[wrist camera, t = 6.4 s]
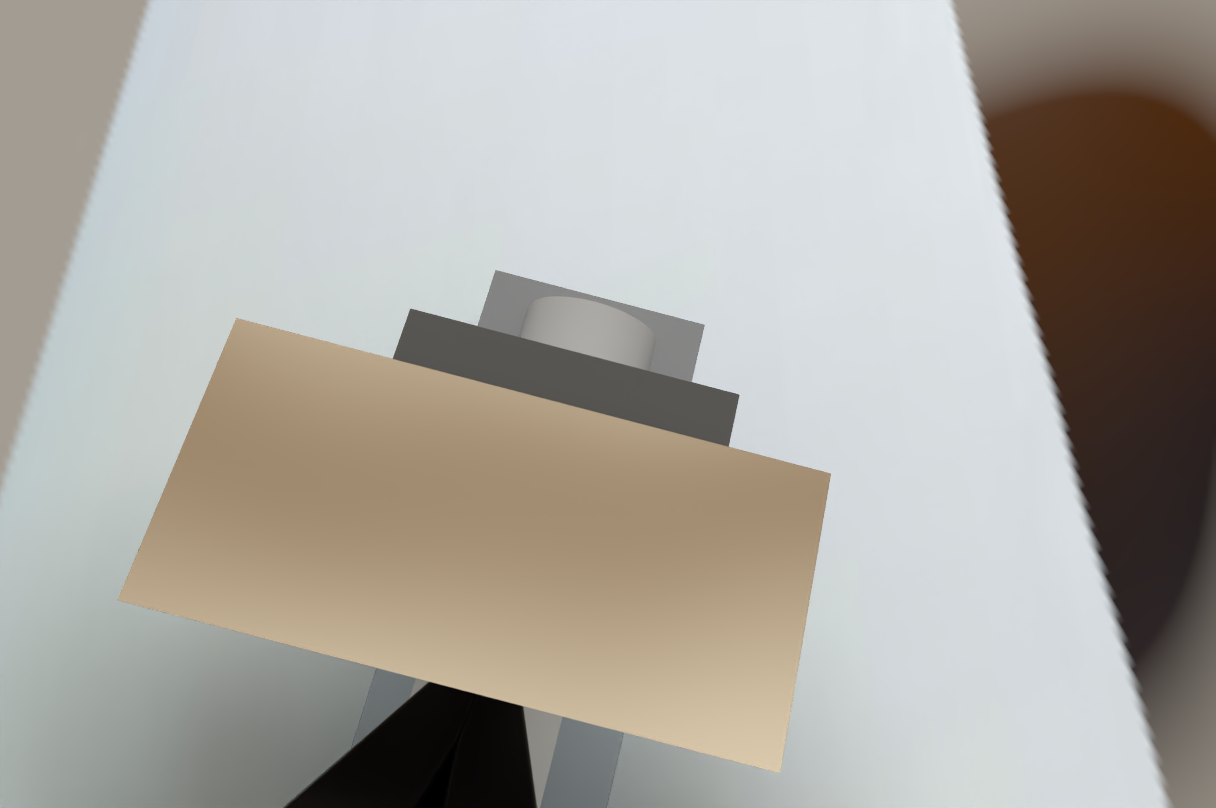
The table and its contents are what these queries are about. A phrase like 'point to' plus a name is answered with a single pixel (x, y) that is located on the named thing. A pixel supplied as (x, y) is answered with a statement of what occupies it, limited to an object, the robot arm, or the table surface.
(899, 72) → the table surface
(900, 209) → the table surface
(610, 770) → the pipe stand
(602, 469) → the sleeve
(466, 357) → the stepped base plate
